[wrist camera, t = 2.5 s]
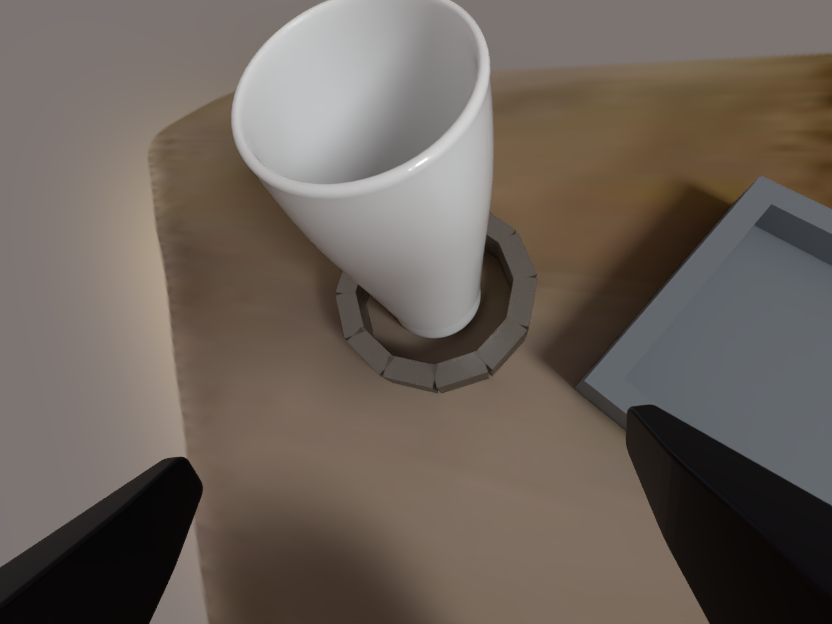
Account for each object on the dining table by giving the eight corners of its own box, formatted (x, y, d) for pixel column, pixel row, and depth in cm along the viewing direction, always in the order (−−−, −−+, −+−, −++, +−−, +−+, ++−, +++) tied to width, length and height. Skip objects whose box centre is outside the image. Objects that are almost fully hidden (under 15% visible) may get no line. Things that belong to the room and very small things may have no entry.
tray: (876, 632, 15) (945, 665, 13) (573, 388, 20) (584, 380, 18) (1053, 370, 17) (1144, 358, 14) (732, 204, 22) (760, 175, 19)
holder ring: (441, 433, 21) (435, 431, 19) (316, 308, 25) (301, 296, 23) (571, 287, 22) (579, 272, 20) (433, 190, 26) (428, 171, 24)
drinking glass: (459, 230, 24) (413, -56, 10) (515, 317, 22) (555, 94, 8) (365, 281, 24) (198, 64, 11) (411, 374, 22) (270, 250, 8)
